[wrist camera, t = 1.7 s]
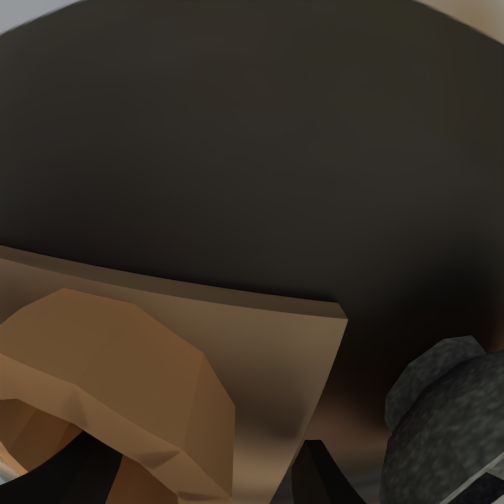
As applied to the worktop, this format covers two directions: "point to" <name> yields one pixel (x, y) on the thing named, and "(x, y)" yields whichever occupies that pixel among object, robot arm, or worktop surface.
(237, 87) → the worktop surface
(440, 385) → the mortar and pestle
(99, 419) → the orange notched ring
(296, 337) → the shelf plate
